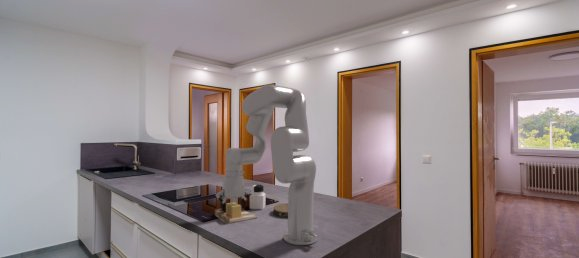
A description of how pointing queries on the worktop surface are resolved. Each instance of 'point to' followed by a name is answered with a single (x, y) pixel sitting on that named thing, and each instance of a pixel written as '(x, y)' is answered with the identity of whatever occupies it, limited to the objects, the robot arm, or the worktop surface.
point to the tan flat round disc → (281, 210)
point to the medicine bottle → (257, 197)
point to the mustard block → (233, 209)
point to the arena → (228, 219)
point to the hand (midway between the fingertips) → (233, 209)
